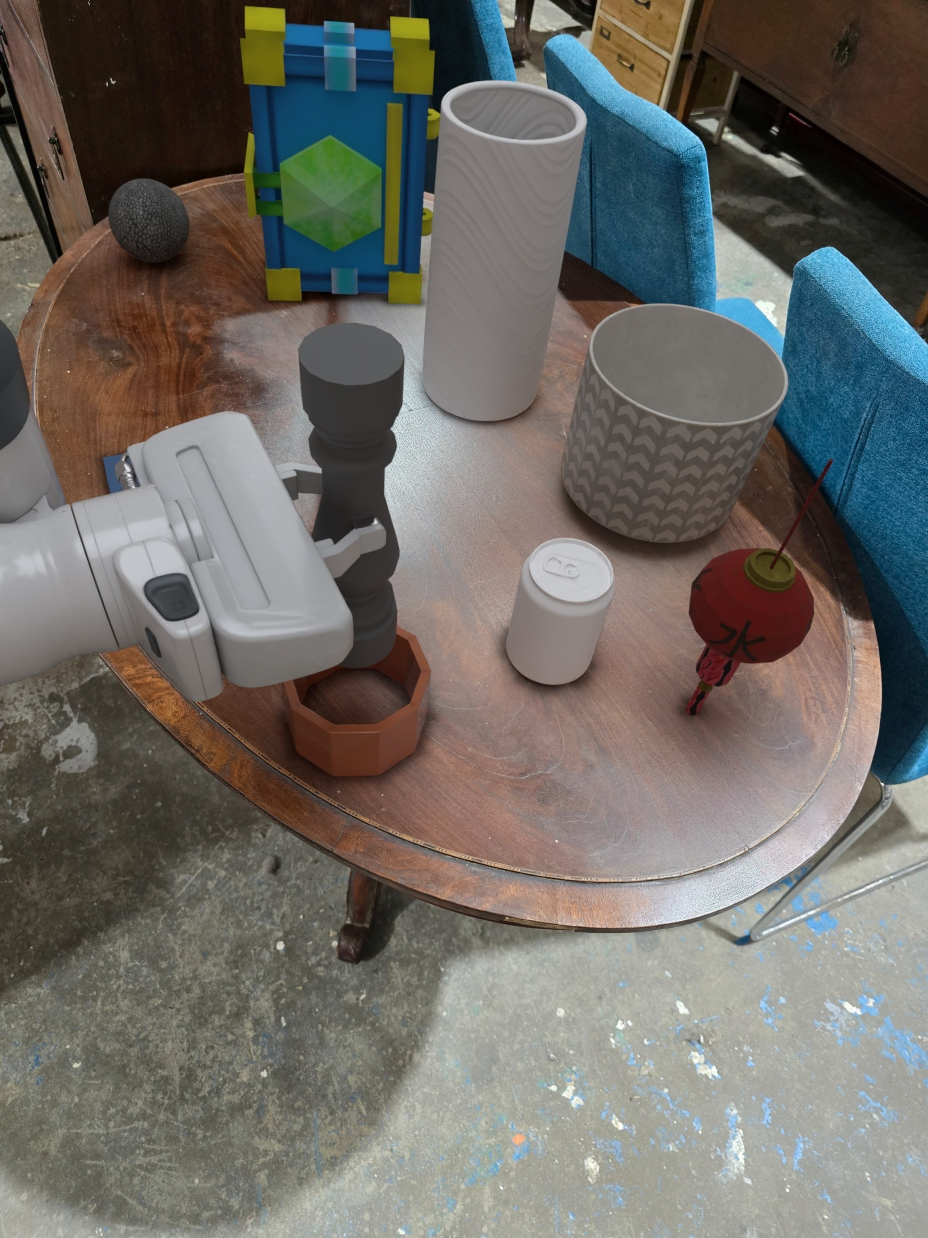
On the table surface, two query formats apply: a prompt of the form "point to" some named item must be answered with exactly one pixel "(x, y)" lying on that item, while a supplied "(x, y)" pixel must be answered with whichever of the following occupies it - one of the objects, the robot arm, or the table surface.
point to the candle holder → (356, 464)
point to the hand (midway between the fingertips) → (366, 503)
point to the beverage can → (559, 610)
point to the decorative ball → (149, 220)
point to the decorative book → (339, 153)
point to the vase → (497, 243)
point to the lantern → (748, 610)
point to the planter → (669, 420)
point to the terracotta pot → (369, 743)
